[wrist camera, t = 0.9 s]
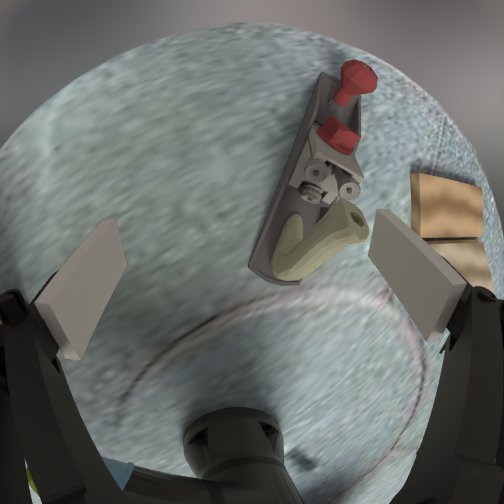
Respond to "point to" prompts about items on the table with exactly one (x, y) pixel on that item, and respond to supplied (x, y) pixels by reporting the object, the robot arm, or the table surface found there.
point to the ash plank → (466, 260)
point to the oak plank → (445, 207)
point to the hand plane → (318, 183)
